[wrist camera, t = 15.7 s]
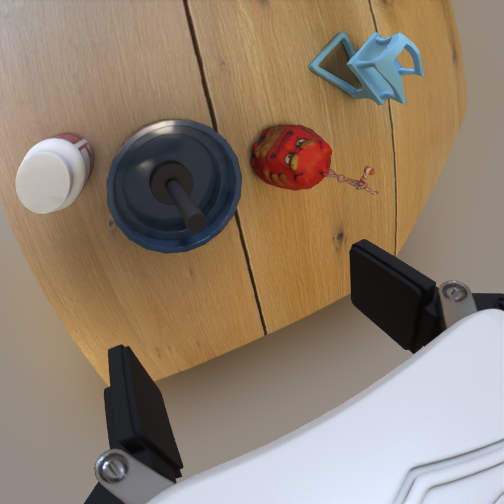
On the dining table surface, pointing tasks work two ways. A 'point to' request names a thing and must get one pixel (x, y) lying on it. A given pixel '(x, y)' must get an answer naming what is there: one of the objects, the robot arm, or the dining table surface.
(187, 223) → the black disc-end rod
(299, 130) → the red clay folk toy
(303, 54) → the dining table surface
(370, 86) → the chair
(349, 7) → the dining table surface
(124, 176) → the bowl
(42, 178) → the pill bottle
